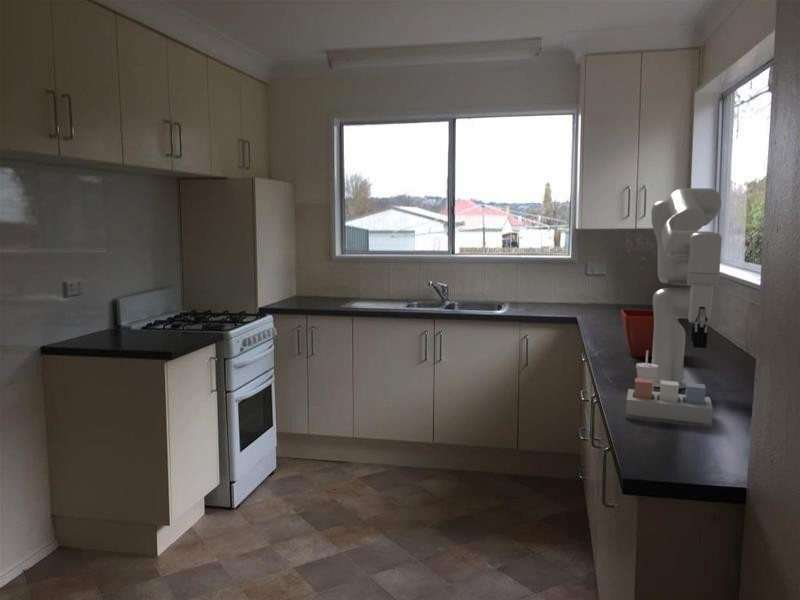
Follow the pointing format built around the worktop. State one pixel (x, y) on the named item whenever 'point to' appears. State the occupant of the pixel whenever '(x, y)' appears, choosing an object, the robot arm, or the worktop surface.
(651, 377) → the smoothie
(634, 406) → the keypad housing
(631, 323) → the plant pot
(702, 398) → the blue key
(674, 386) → the white key
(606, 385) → the worktop surface
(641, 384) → the red key
